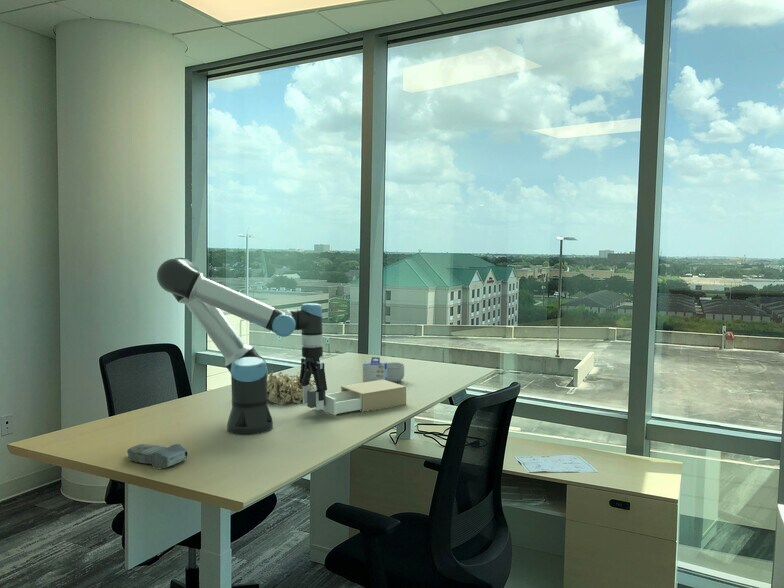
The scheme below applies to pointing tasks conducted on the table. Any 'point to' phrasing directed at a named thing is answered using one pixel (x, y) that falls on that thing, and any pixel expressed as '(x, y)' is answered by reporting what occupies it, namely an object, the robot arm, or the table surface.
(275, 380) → the dried lichen
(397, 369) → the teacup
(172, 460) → the handheld device
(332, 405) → the tray
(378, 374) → the ink cartridge box
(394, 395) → the sleeve
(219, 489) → the table surface
